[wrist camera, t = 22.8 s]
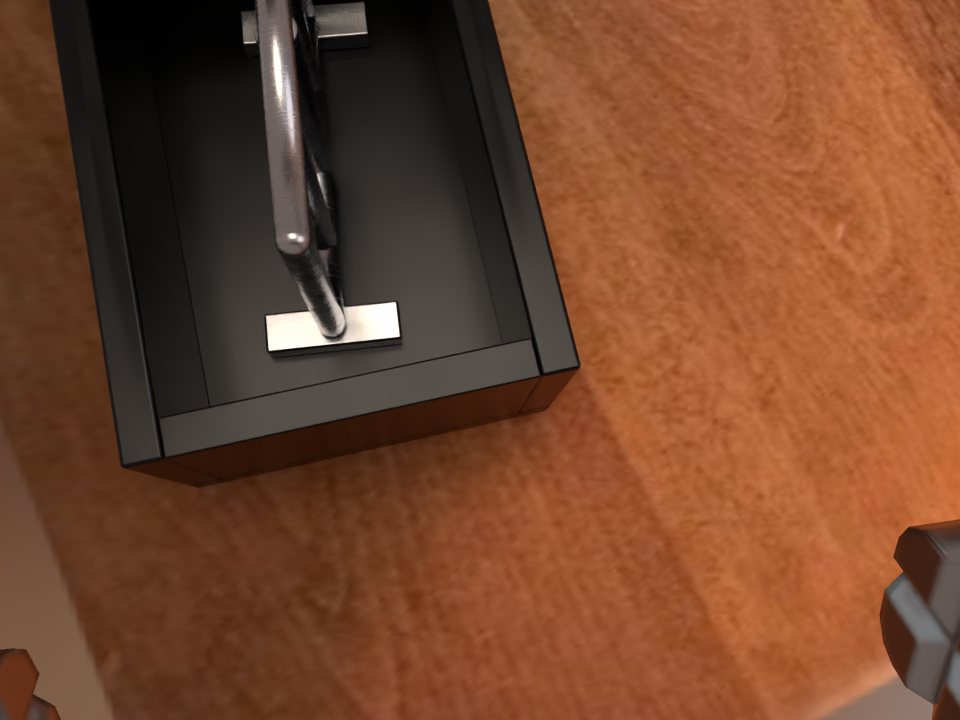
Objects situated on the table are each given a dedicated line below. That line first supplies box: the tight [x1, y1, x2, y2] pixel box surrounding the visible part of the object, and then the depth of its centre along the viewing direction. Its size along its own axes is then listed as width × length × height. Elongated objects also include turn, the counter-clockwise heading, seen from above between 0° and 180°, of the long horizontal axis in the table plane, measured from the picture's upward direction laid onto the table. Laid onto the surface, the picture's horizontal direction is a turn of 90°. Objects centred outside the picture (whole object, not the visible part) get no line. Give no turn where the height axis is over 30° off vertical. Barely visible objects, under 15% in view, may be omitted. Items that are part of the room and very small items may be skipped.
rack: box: [240, 0, 403, 358], centre depth 25 cm, size 11×4×9 cm, turn 7°
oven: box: [49, 0, 581, 488], centre depth 27 cm, size 17×11×7 cm, turn 13°
